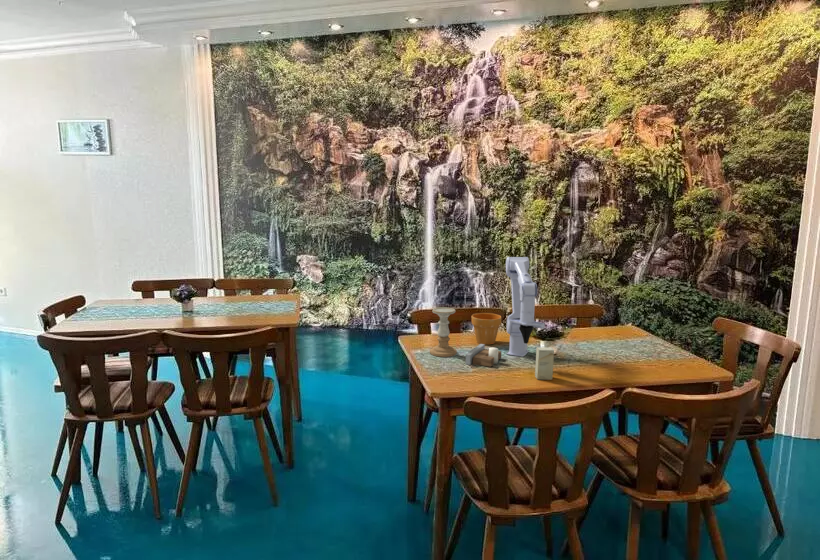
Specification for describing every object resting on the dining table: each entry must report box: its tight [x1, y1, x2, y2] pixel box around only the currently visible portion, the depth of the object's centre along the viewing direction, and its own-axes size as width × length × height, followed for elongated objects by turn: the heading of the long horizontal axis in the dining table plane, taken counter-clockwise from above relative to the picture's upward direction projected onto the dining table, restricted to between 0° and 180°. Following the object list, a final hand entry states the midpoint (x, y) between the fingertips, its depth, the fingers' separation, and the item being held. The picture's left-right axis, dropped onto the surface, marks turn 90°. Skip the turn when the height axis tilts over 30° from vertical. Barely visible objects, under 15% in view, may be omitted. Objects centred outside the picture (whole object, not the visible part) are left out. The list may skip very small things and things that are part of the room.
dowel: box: [488, 346, 499, 365], centre depth 255 cm, size 4×4×6 cm
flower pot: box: [471, 312, 502, 346], centre depth 285 cm, size 14×14×13 cm
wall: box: [465, 343, 486, 366], centre depth 260 cm, size 18×2×4 cm, turn 153°
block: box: [472, 348, 502, 368], centre depth 257 cm, size 14×8×3 cm, turn 153°
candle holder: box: [429, 306, 458, 358], centre depth 267 cm, size 12×12×20 cm
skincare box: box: [534, 346, 555, 381], centre depth 235 cm, size 6×4×12 cm
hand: (526, 342), depth 250 cm, fingers closed
